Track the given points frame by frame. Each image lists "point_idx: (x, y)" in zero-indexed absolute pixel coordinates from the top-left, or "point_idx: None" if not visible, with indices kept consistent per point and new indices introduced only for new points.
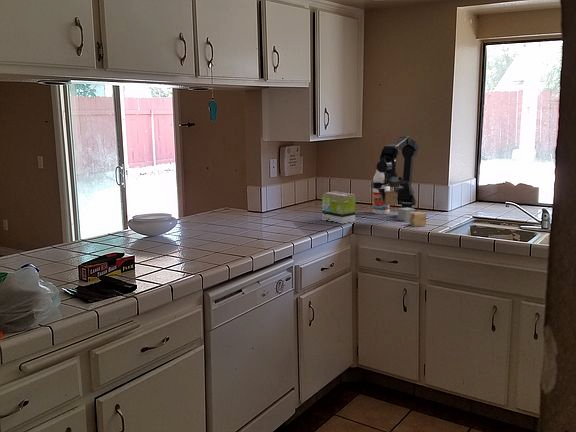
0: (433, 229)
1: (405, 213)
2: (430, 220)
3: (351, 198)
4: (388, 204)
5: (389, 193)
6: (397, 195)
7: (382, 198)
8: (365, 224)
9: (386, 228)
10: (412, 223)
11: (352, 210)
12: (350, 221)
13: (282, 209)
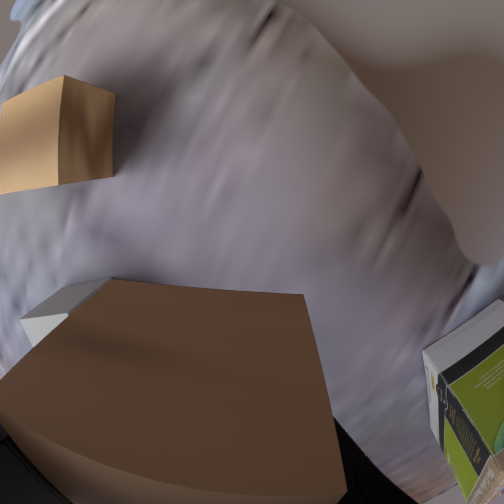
0: (80, 10)
1: (82, 300)
2: (8, 254)
3: None
4: (257, 293)
5: (210, 469)
6: (25, 357)
7: None
8: (420, 256)
9: (347, 68)
10: (106, 129)
11: (477, 376)
12: (456, 332)
13: (434, 495)
